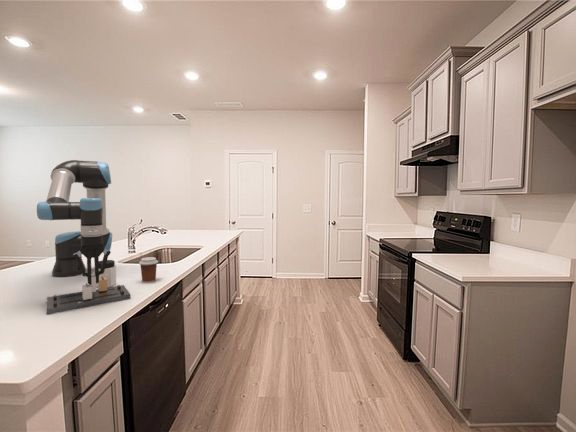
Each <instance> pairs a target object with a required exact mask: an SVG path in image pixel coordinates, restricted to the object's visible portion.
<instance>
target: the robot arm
mask: <svg viewBox="0 0 576 432" xmlns="http://www.w3.org/2000/svg"><path fill="white" fill-rule="evenodd" d="M110 171H111V170H110V166H109V164H108V163H107V162H102V161H94V160H91V161H90V160H76V159H73V160H66V161H63V162H61V163H59V164H57V165H56V166H55V167H54V168H53V169H52V170H51V173H50V179H51V183H50V186H49V190H48V193H47V196H46V201H39V202H37V205H36V215H37V219H39V220H41V221H64V220H66V221H67V220H73V221H74V220H80V230H77V231H70V232H69V231H68V232H63V233H58V234H57V235H56V236H55V237H54V246H55V263H54V265H53V268H52V271H51V276H52V277H56V278H59V277H60V278H65V277H73V276H78V275H82V277H86V278H87V284H91V286H92V292H96V289H97V287H96V283H99V275H100V274H103V273H104V270H105V266H106V262H107V260H109V259H108V257H109V256H110V255H111V252H112V251H111V249H112V243H113V232H110V229H109V228H107V207H106V205H107V203H106V201H107V199H106V189H108V188H109V185H111V184H112V178H111V172H110ZM74 183H76V184H77V183H78V184H82V187H83V188H84V189H85V190H86V197H82V198H80V199H79V200H80V201H70V198H71V197H70V196H71V191H72V190H71V189H72V185H73V184H74ZM102 254H103V257H102V260H101V261H102V265H101V269H100V271H99V261H100V260H99V258H100V256H101V255H102ZM82 255H83V256H84V257H85V258H86V265H85V262H84V261H83V259H82V258H83V256H82ZM92 259H94V263H93V264H94V268H95V275H94V274H92Z"/></svg>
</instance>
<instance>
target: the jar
mask: <svg viewBox="0 0 576 432" xmlns="http://www.w3.org/2000/svg"><path fill="white" fill-rule="evenodd" d="M102 261H103V260H99V271H100V269H101V265H102ZM93 275H95V267H93ZM101 277H103V278H104V277H106V278H107V288H108V287H114V286H116V284H117V268H116V263H115V260H112V259H107V262H106V266H105V270H104V273H103V274H100V275H99V278H101ZM96 288H98V283H96Z"/></svg>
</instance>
